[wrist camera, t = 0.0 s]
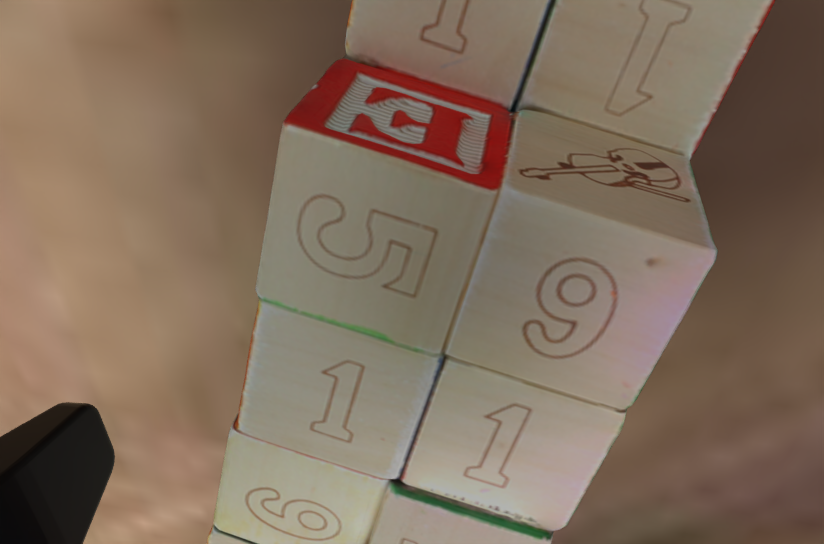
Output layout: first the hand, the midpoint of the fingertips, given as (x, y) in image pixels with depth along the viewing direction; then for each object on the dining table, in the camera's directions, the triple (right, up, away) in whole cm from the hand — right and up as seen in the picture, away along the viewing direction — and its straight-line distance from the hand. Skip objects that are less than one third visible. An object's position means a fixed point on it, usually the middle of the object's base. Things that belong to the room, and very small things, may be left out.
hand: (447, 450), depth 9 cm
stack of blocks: (+3, +8, +12) cm, 15 cm away
